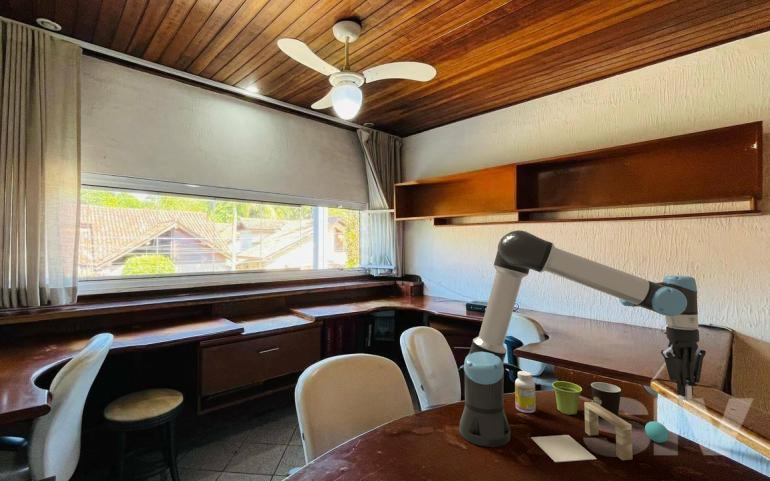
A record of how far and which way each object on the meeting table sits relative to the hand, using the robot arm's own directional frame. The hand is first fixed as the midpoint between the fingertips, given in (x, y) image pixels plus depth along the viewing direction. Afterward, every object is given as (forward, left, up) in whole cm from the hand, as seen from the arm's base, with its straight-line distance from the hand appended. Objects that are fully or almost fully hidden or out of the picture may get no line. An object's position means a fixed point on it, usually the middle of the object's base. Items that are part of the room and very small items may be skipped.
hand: (685, 406), depth 102 cm
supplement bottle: (-38, +24, -10) cm, 46 cm away
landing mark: (-40, 0, -10) cm, 41 cm away
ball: (-10, 0, -7) cm, 12 cm away
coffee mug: (-13, +17, -10) cm, 24 cm away
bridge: (-26, 0, -10) cm, 28 cm away
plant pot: (-24, +21, -10) cm, 33 cm away
